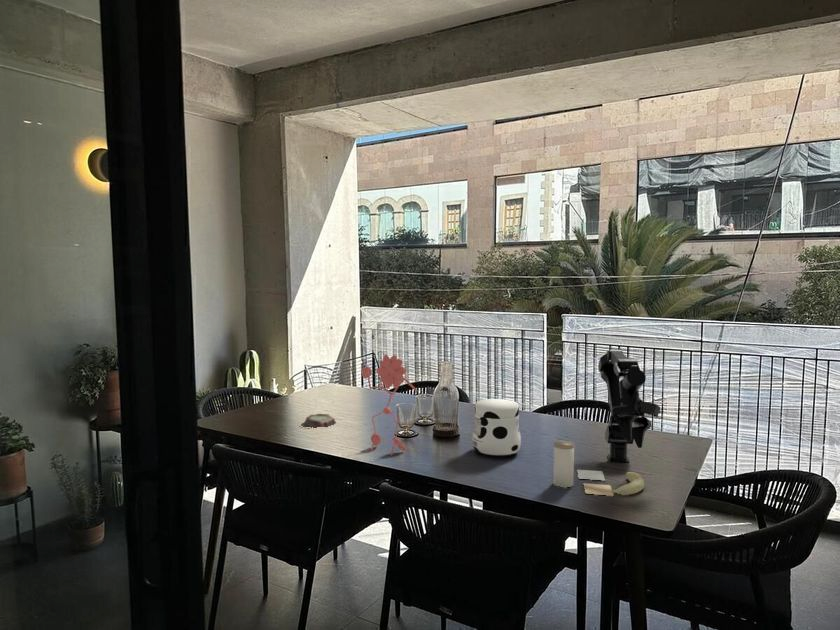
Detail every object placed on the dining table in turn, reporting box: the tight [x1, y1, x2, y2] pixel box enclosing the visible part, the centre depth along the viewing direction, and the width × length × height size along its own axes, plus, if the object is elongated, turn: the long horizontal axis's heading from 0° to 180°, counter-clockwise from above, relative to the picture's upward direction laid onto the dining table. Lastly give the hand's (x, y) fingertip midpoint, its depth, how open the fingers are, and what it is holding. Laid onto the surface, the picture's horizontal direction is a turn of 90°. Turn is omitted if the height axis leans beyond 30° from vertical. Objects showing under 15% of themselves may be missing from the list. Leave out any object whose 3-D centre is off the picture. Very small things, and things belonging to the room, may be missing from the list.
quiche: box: [301, 413, 337, 428], centre depth 250 cm, size 21×20×4 cm
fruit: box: [612, 471, 645, 496], centre depth 179 cm, size 7×15×3 cm, turn 144°
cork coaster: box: [582, 482, 615, 497], centre depth 177 cm, size 8×8×1 cm
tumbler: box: [553, 440, 575, 488], centre depth 181 cm, size 6×6×13 cm
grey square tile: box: [576, 469, 606, 482], centre depth 189 cm, size 8×8×1 cm
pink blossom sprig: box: [361, 354, 419, 459], centre depth 216 cm, size 15×26×35 cm, turn 56°
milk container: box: [472, 398, 522, 458], centre depth 211 cm, size 17×17×18 cm
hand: (634, 444), depth 182 cm, fingers open, 9 cm apart
